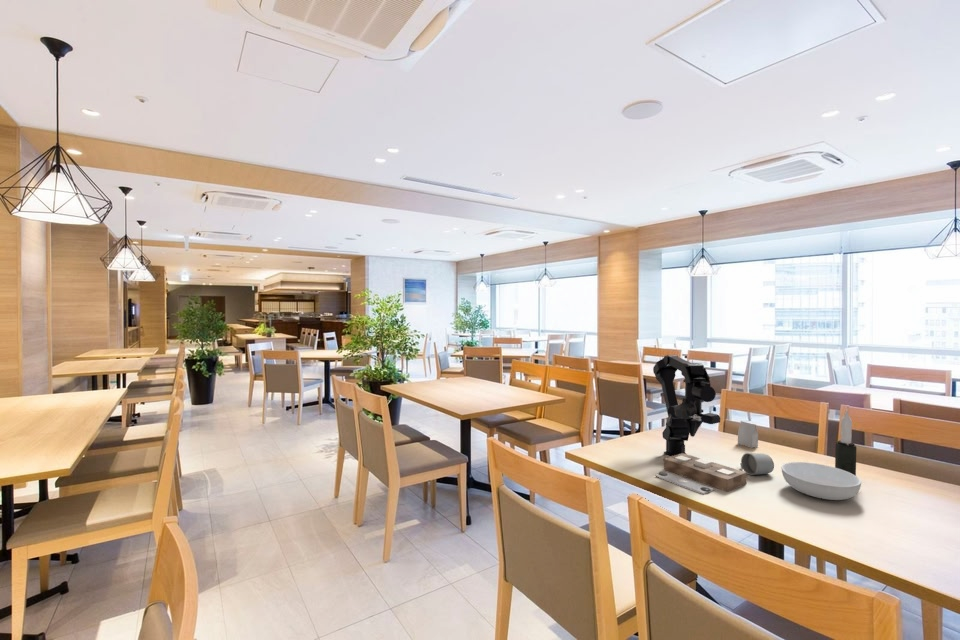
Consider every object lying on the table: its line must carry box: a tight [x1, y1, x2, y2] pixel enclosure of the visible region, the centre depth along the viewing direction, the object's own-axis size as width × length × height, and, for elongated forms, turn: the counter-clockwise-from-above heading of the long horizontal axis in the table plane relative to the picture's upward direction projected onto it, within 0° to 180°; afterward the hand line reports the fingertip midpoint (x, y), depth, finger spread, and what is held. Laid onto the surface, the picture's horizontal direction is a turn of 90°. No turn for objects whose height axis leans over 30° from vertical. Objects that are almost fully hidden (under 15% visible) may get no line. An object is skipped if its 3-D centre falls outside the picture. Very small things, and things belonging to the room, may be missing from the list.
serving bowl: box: [781, 461, 862, 501], centre depth 146 cm, size 21×21×7 cm
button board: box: [663, 453, 747, 492], centre depth 161 cm, size 24×12×4 cm, turn 32°
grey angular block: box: [737, 420, 759, 449], centre depth 197 cm, size 4×7×10 cm, turn 24°
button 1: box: [675, 456, 691, 462], centre depth 168 cm, size 4×4×3 cm
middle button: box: [695, 458, 713, 469], centre depth 161 cm, size 4×4×3 cm
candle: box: [834, 409, 857, 476], centre depth 157 cm, size 5×5×25 cm
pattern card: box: [655, 471, 714, 495], centre depth 155 cm, size 19×6×1 cm, turn 32°
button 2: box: [717, 469, 735, 476], centre depth 154 cm, size 4×4×3 cm
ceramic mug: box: [740, 452, 775, 476], centre depth 165 cm, size 11×8×8 cm
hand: (692, 436), depth 171 cm, fingers closed
